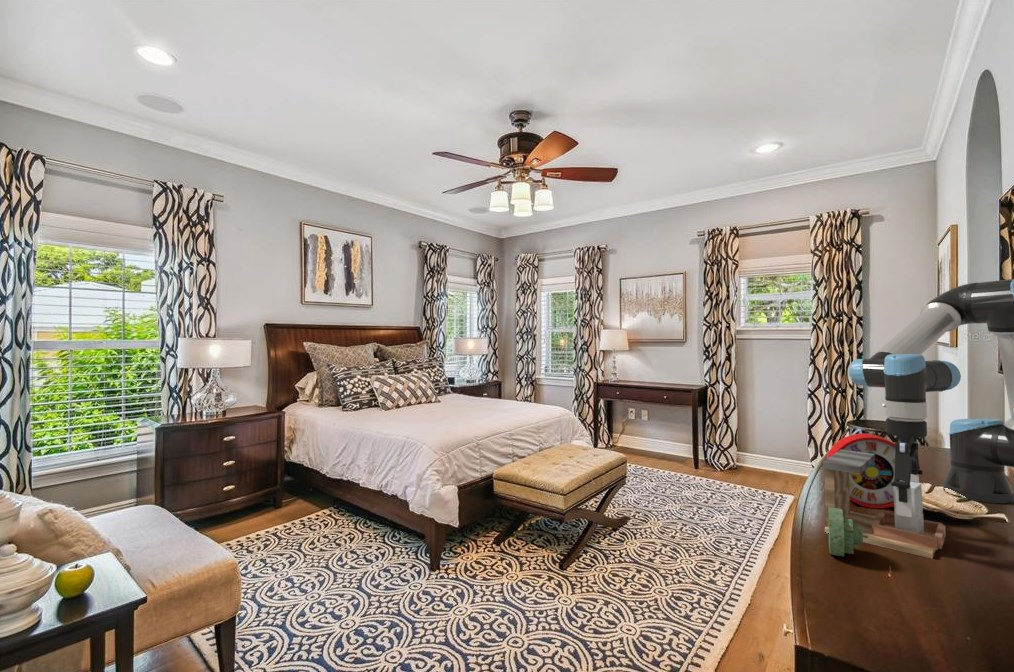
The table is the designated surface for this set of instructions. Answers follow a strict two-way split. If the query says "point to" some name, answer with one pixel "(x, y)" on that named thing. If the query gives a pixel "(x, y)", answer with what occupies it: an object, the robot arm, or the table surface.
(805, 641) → the table surface
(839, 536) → the decorative artifact
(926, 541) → the awning stand
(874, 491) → the toy clock
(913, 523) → the skincare box
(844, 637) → the table surface
